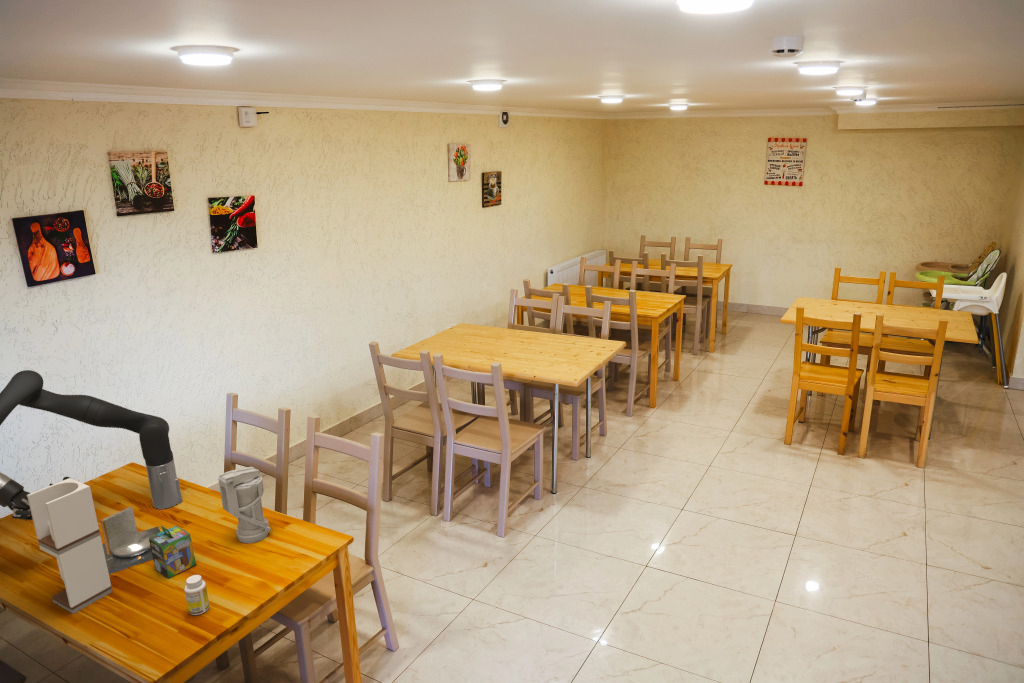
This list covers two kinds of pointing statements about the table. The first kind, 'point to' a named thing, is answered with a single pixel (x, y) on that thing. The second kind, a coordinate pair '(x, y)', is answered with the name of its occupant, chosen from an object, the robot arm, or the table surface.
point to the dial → (124, 535)
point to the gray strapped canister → (245, 502)
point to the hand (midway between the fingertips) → (51, 521)
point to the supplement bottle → (196, 595)
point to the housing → (125, 562)
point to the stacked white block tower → (72, 541)
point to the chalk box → (172, 551)
